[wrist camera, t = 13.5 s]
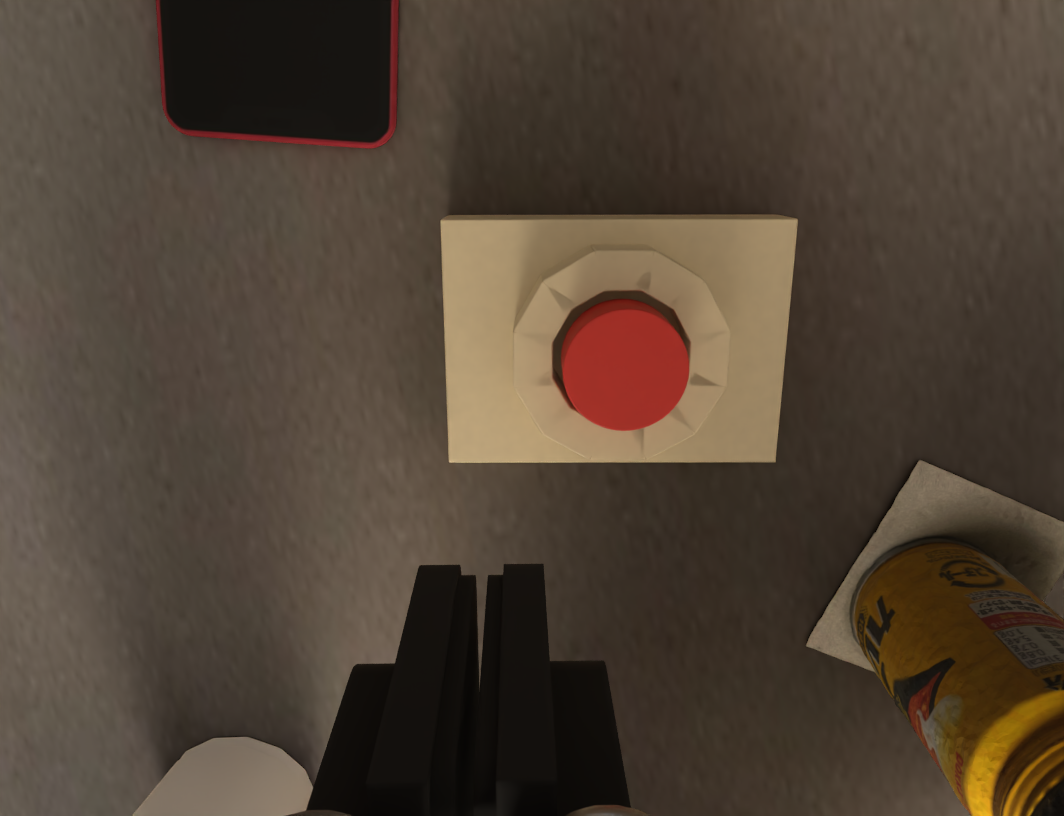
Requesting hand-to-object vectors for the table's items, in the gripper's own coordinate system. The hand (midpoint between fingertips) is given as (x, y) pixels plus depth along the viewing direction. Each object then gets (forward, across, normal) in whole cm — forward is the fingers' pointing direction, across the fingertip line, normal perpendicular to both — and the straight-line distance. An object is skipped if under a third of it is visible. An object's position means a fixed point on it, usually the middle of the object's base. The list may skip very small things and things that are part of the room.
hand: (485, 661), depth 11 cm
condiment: (+18, -17, +9) cm, 26 cm away
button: (+14, -4, -1) cm, 15 cm away
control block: (+18, -4, -1) cm, 18 cm away
